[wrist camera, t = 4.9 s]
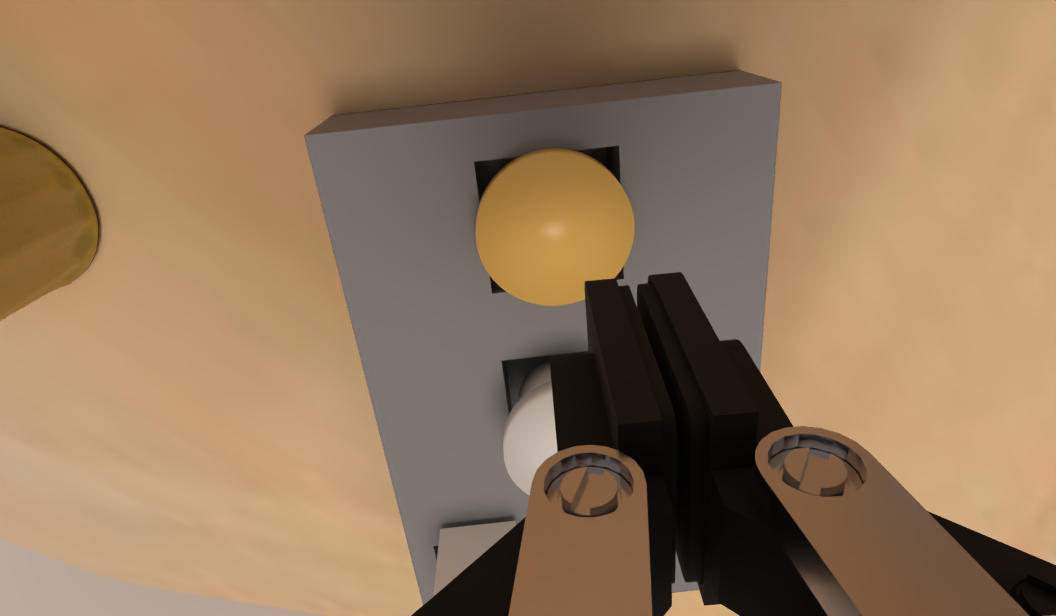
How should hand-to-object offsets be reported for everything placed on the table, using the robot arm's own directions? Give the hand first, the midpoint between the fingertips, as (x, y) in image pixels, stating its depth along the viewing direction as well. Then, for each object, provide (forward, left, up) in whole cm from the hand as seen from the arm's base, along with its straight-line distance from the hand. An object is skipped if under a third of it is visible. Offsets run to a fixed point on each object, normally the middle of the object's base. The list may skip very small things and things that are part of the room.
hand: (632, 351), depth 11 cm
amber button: (+1, +1, -11) cm, 11 cm away
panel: (+1, +8, -13) cm, 15 cm away
